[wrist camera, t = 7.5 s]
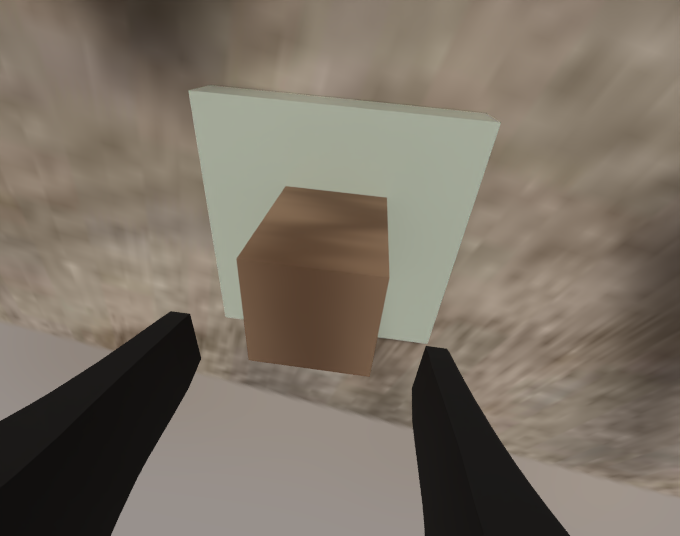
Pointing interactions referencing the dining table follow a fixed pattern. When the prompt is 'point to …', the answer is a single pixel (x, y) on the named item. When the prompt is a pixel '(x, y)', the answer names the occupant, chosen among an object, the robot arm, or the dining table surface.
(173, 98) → the dining table surface
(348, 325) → the walnut block
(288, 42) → the dining table surface
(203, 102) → the pale green block
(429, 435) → the robot arm
